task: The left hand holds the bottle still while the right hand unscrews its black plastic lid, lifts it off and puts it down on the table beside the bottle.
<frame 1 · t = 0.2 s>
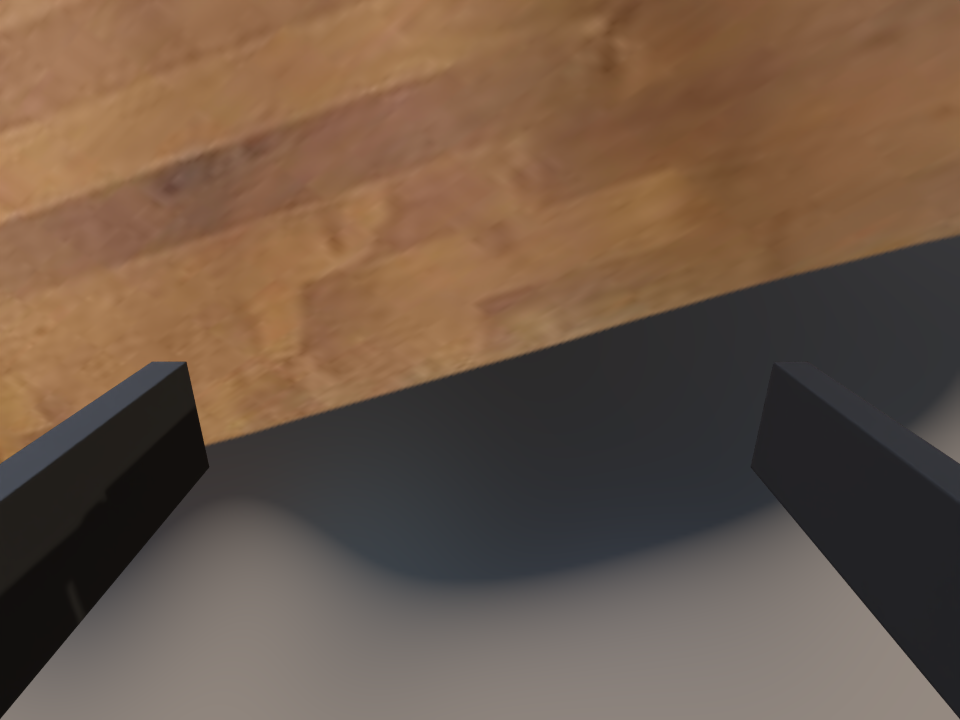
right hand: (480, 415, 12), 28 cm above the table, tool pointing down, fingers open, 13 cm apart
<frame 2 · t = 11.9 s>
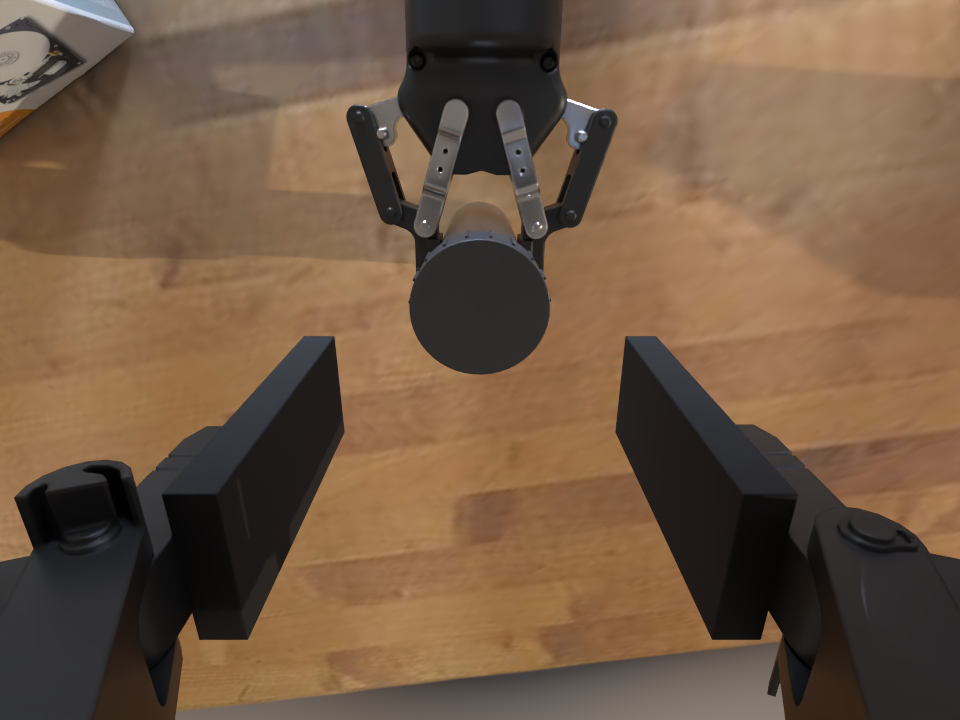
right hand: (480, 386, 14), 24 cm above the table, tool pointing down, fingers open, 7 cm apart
left hand: (479, 299, 32), fingers closed on bottle, 4 cm apart
lid: (479, 307, 21), point 17 cm above the table, screwed on, not yet turned
hard drive box: (1, 45, 32), on the table
bottle: (479, 235, 36), on the table, touching left hand
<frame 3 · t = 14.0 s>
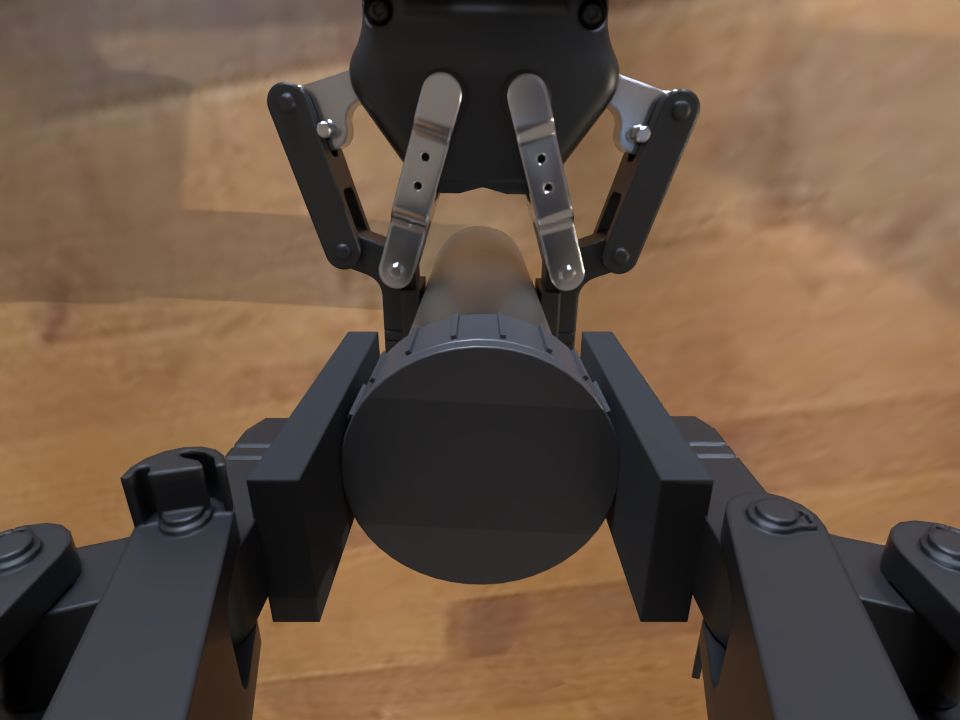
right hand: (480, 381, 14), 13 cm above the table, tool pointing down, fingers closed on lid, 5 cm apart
lid: (480, 466, 11), point 17 cm above the table, screwed on, not yet turned, touching right hand
bottle: (480, 272, 26), on the table, touching left hand
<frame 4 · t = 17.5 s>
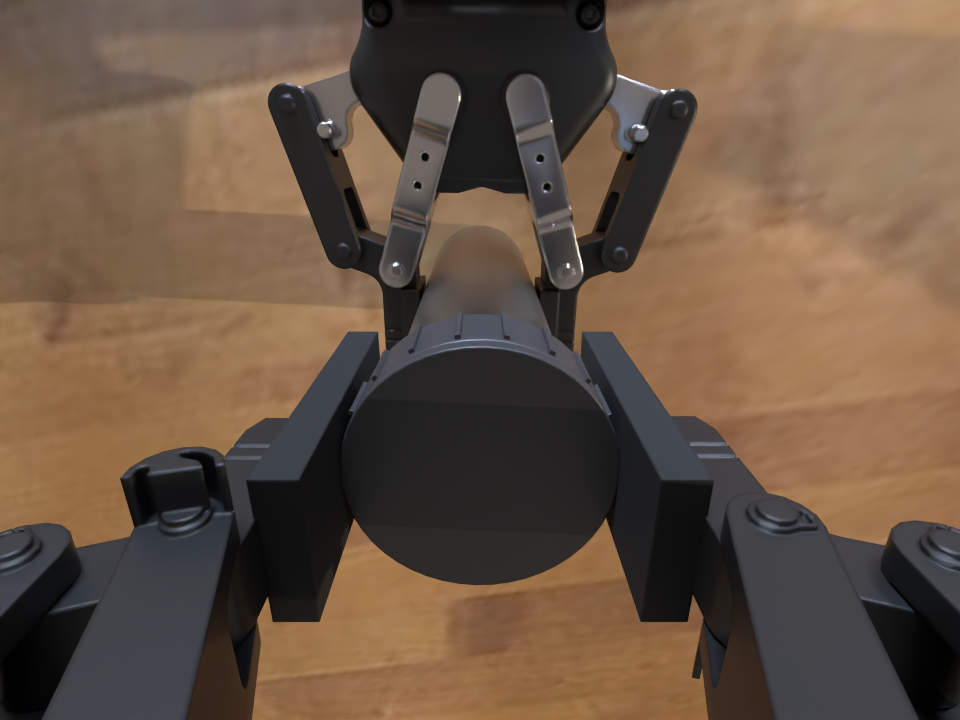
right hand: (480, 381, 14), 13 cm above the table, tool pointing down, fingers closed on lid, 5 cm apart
lid: (480, 467, 10), point 17 cm above the table, turned 131° so far, risen 0.2 cm, still on its thread, touching right hand
bottle: (479, 271, 26), on the table, touching left hand
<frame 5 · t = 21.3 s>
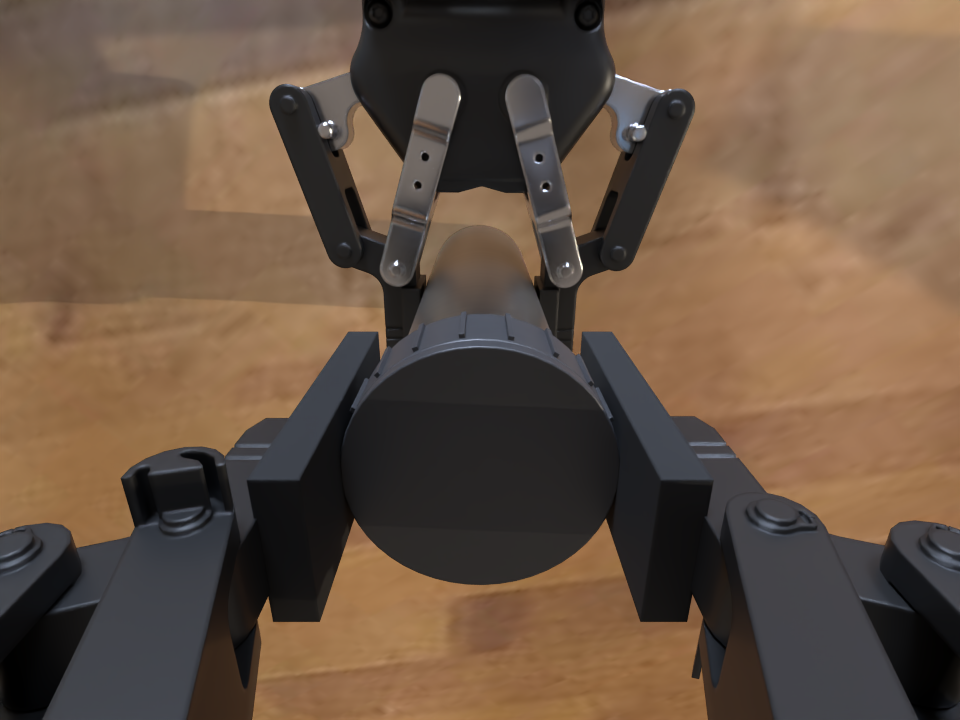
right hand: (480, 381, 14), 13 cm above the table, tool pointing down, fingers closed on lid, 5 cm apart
lid: (480, 467, 10), point 17 cm above the table, turned 262° so far, risen 0.3 cm, still on its thread, touching right hand
bottle: (479, 270, 26), on the table, touching left hand
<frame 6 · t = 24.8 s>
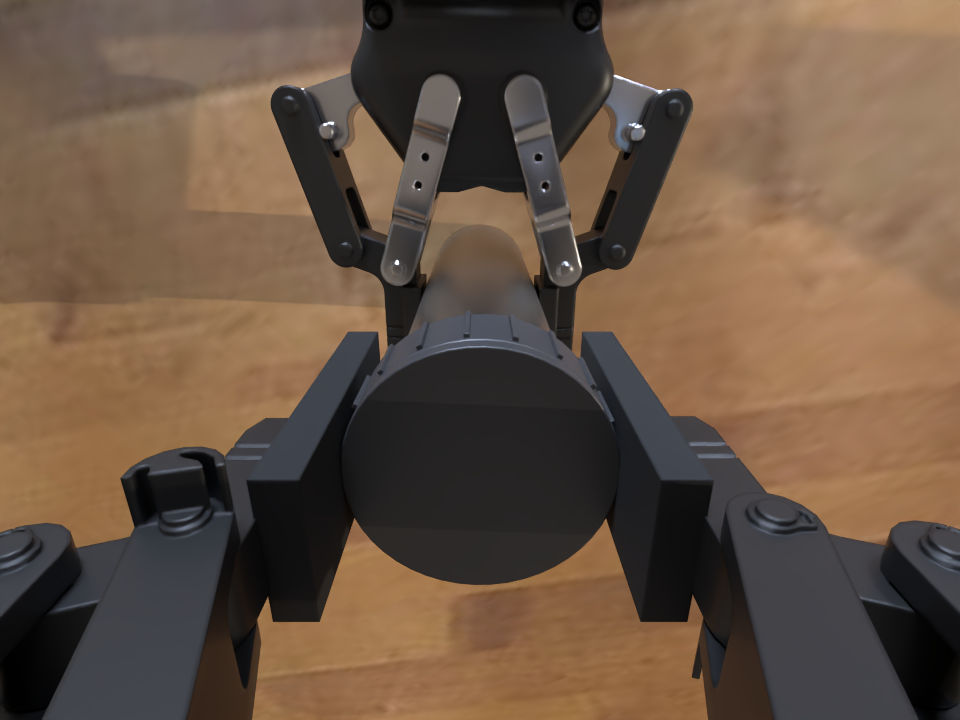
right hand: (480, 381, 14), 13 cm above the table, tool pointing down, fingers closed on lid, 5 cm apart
lid: (480, 467, 10), point 17 cm above the table, turned 392° so far, risen 0.5 cm, still on its thread, touching right hand
bottle: (480, 269, 27), on the table, touching left hand
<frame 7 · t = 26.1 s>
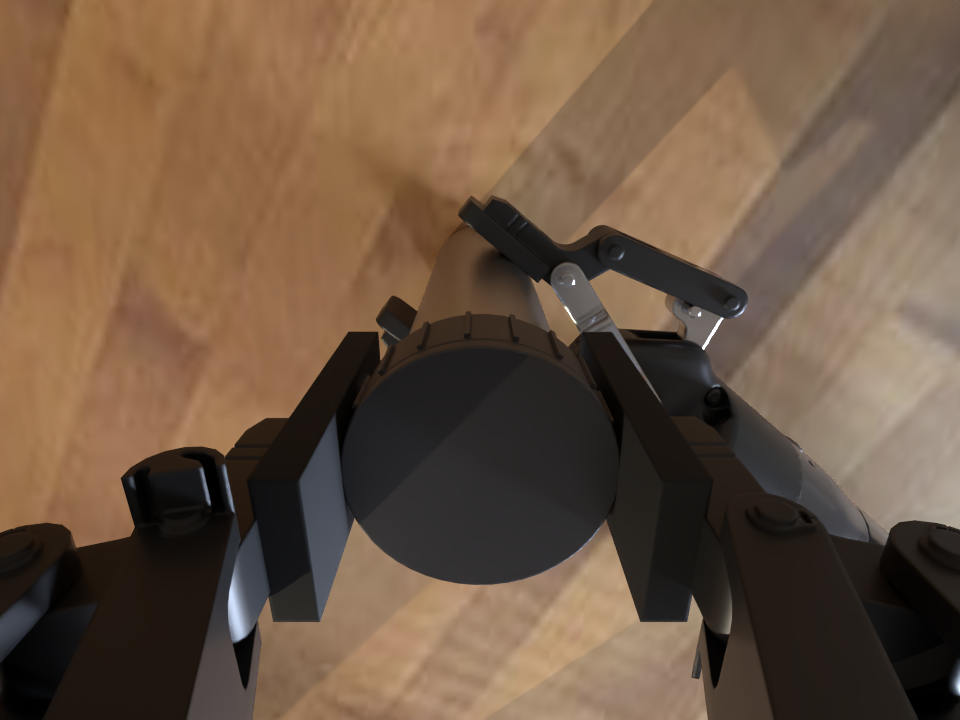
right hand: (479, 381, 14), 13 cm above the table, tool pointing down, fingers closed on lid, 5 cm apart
lid: (480, 467, 10), point 17 cm above the table, off its thread, touching right hand
bottle: (480, 269, 27), on the table, touching left hand
when the right hand's fingers open (0 cm above the table, at t = 33.0 s): lid drops 3 cm, point 2 cm above the table.
when the left hand's fingers open (6 cm above the table, at t = 33.7 s): bottle stays where it is, on the table.
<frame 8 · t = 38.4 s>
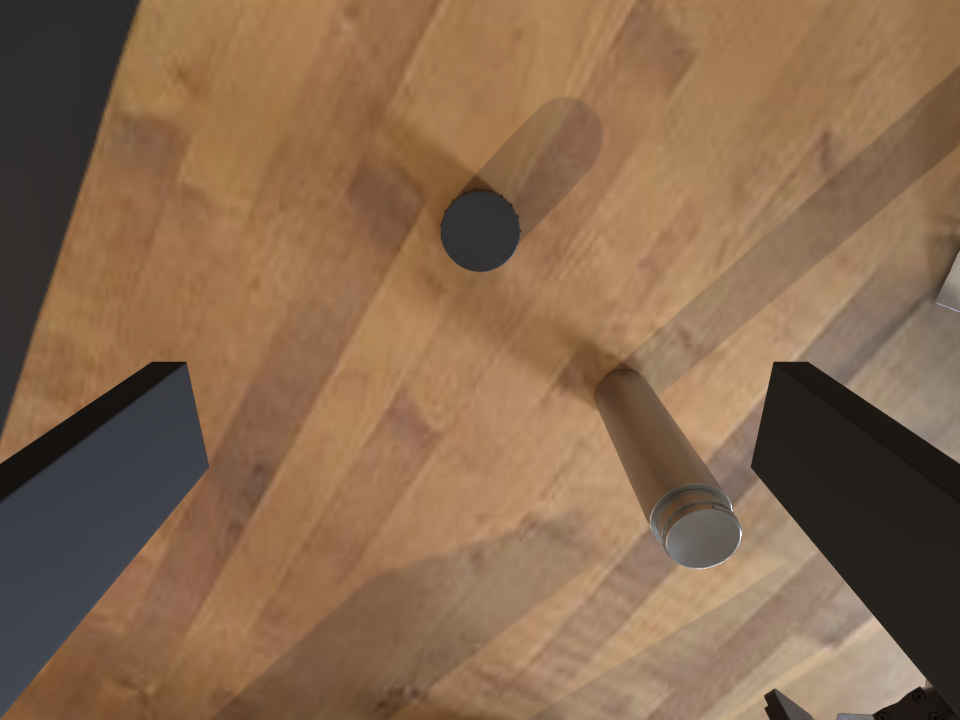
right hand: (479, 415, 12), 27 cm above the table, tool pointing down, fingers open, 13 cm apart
lid: (480, 232, 36), point 2 cm above the table, off its thread
bottle: (622, 395, 43), on the table
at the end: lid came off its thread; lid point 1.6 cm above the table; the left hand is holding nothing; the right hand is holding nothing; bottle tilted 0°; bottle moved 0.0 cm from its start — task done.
